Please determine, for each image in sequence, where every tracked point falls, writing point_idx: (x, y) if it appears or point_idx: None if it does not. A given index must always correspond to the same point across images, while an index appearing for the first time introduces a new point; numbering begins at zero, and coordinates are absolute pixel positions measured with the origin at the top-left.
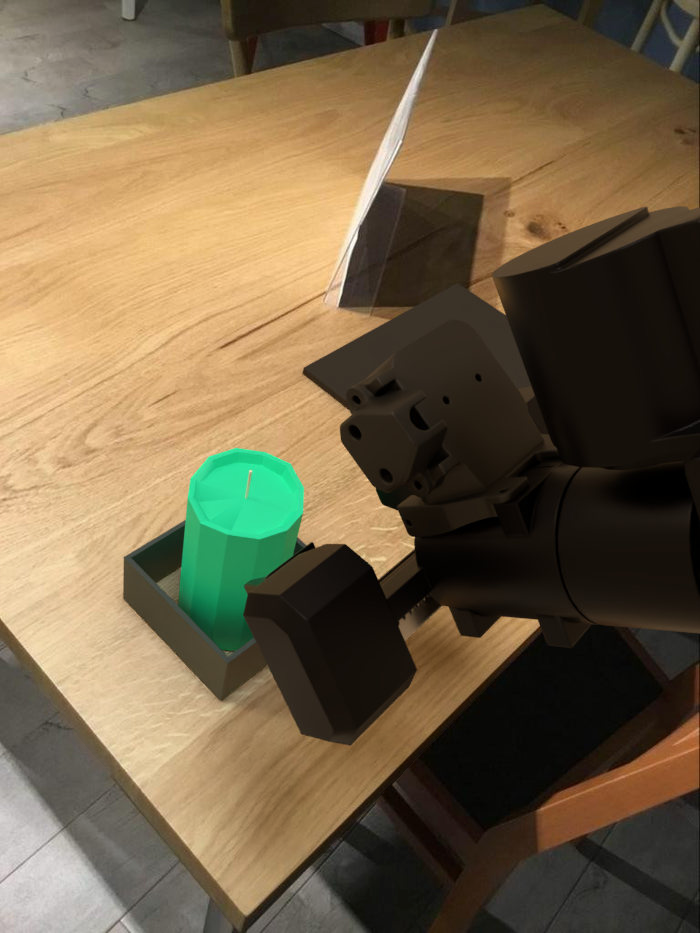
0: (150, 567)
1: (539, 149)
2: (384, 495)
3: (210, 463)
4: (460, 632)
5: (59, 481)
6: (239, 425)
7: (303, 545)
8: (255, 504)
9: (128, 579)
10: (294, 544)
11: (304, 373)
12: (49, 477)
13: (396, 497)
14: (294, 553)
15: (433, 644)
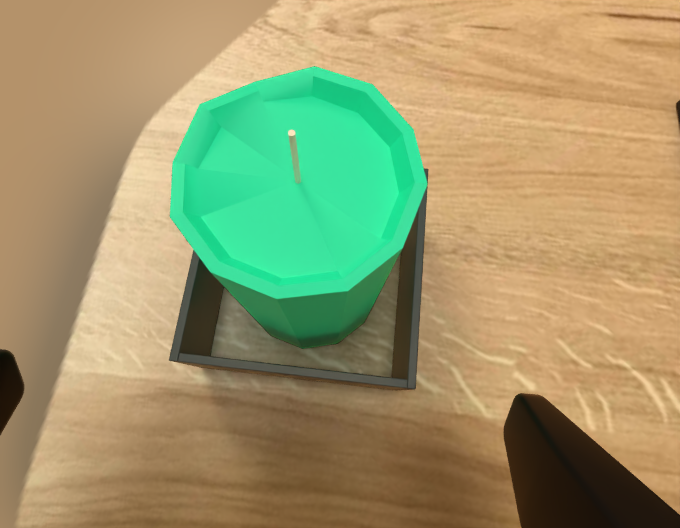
0: None
1: None
2: (518, 431)
3: (304, 79)
4: None
5: (308, 39)
6: (536, 109)
7: (416, 303)
8: (296, 204)
9: None
10: (339, 312)
11: (678, 104)
12: (304, 30)
13: (531, 480)
14: (407, 299)
15: None
